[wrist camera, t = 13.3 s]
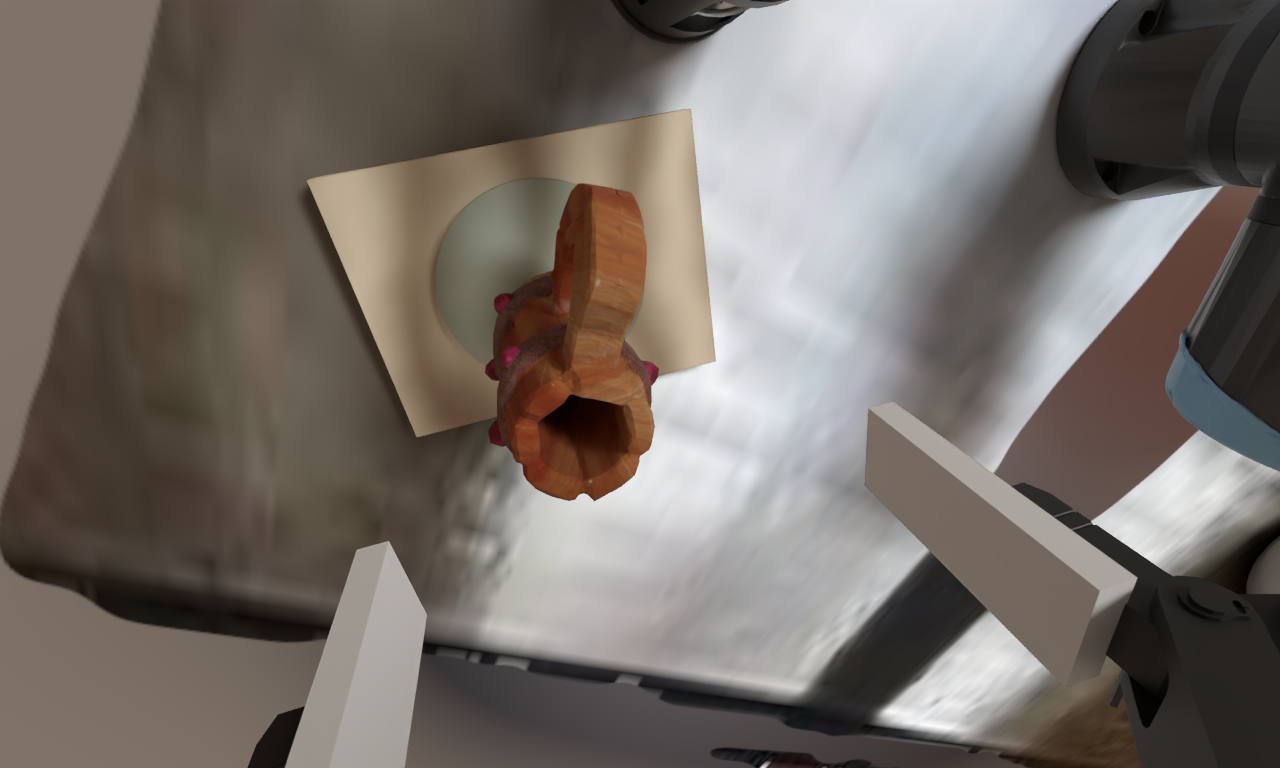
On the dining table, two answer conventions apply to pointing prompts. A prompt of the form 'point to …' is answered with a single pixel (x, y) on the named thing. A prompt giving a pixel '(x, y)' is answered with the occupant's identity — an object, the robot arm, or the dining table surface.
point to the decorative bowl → (1266, 571)
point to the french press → (684, 17)
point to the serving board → (511, 251)
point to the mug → (577, 354)
